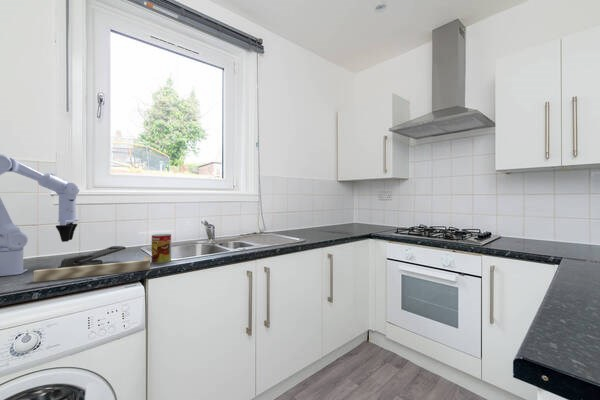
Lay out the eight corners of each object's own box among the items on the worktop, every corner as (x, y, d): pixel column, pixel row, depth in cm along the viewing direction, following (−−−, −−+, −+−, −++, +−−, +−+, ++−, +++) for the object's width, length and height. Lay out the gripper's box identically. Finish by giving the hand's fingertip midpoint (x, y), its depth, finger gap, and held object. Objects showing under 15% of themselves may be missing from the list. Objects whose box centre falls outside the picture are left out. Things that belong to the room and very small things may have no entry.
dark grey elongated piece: (128, 246, 126) (71, 256, 101) (128, 260, 125) (71, 274, 101) (112, 245, 128) (52, 255, 103) (112, 259, 128) (52, 273, 103)
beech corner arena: (33, 282, 91) (33, 271, 91) (46, 273, 102) (46, 264, 102) (150, 269, 107) (150, 260, 107) (149, 263, 119) (149, 255, 119)
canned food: (149, 261, 124) (149, 234, 124) (168, 258, 129) (168, 233, 129) (154, 264, 118) (154, 236, 118) (173, 261, 123) (173, 234, 123)
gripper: (74, 210, 116) (74, 242, 116) (82, 209, 129) (82, 238, 129) (53, 210, 113) (52, 243, 112) (62, 209, 125) (62, 239, 125)
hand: (67, 240), depth 120 cm, fingers open, 6 cm apart
